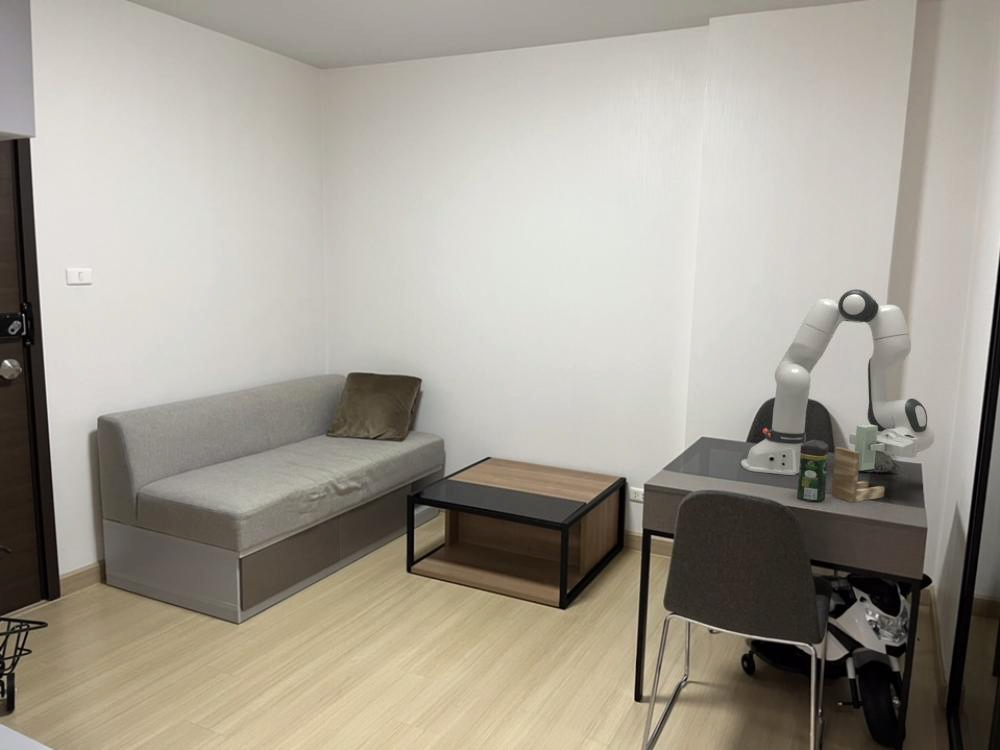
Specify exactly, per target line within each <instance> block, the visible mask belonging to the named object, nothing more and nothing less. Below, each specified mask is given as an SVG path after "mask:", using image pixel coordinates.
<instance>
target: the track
mask: <svg viewBox="0 0 1000 750" xmlns="http://www.w3.org/2000/svg"><path fill="white" fill-rule="evenodd" d="M834 452H835V453H834V461H833V463H834V464H833V473H832V488H831V496H832V497H834V498H837V499H840V500H843V501H845V502H849V503H857V502H862V501H868V500H869V501H870V500H874V499H881V498H884V497H885V488H886V487H885V486H884V485H878V486H876V485H875V486H870V487H869V483H870V482H869V481H867V480H862V481H858V477H859V471H858V468H859V457H860V452H856V451H855V450H854V449H853V450H852V449H848V448H845V447H842V446H836V447H835V450H834Z"/></svg>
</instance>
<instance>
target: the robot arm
mask: <svg viewBox="0 0 1000 750" xmlns="http://www.w3.org/2000/svg"><path fill="white" fill-rule="evenodd" d="M843 322H849V323H851V322H852V323H861V324H862V323H865V324H867V325H868V327H869V328H870V331H871V336H872V342H873V351H872V356H871V357H870V358H869V359H868V364H867V382H868V383H867V384H868V388H867V389H868V408H867V420H868V423H869V424H871V425H875V426H878V431H877V432H880V434H877V443H876V444H869V445H868V450H872V451H874V450H877V451H881V452H883V453H885V454H886V455H889V456H890V457H899V458H912V459H914V458H916V457H917V453H919V452H923V451H926V450H928V449H929V448H931V446H932V445H933V444H934V441H935V435H934V434H935V433H934V431H933V430H932V428H930V426H929V425H928V414H927V411H926V408H925V406H924V405H923V404H922V403H921V402H920V401H919V400H917V399H916V398H906V399H898V400H889V401H888V397H887V394H888V393H887V376H888V374H889V372H890V371H891V370H892V369H893V368H895V367H896V366H898V365H899V364H901V363H902V362H904V361H905V360H906V359H907V357H908V356H909V355H910V353H911V352H912V351H911V350H912V342H911V337H910V332H909V328H908V324H907V323H908V322H906V318H905V315H904V313H903V311H902V309H901V308H900V306H897V305H895V304H878V303H877V301H876V299H875V297H874V296H873V295H872V294H871V293H870V292H868V291H866V290H862V289H856V288H855V289H851V290H847V291H846V292H844V293H843V294H842V295H841V297H840V298H839V300H834V299H831V298H820V299H818V300H817V301H816V302H815V303H814V305H813V306H812V307H811V308H810V310H809V311H808V313H807V315H805V318H804V320H803V321H802V323H801V326H800V327H799V329H798V331H797V333H796V335H795V337H794V338H793V340H792V342H791V344H790V346H789V347H788V348H787V350H786V352H785V354H783V357H782V358H781V360H780V362H779V363H778V365H777V367H776V369H775V371H774V379H775V383H776V388H775V390H776V391H775V399H774V403H773V411H772V423H771V424H772V425H771V428H770V429H768V428H767V427H765V428H763V430H762V433H763V434H764V435H765V438H764V439H762V440H761V441H760V442H758V443H756V444H754V445H753V446H752V447H750V449H749V450H748V451H749V452H748V455H747V458H745V459H742V460H741V462H740V466H741V467H742V468H743V469H745V470H747V471H750V472H755V473H767V474H777V475H786V476H795V475H797V474H799V467H800V450H801V445H802V444H803V443H805V442H806V437H807V435H806V432H805V429H806V428H805V427H806V417H807V407H808V402H809V398H810V397H809V395H810V391H811V390H810V389H811V380H812V379H811V373H812V371H813V369H814V368H815V366H816V365H817V363H818V362H819V360H820V359H821V358H822V357H823V355H824V353H825V352H826V349H827V348H828V346H829V344H830V342H831V340H832V338H833V336H834V335H835V332H836V331H837V329H838V327H839V326H840V325H841V324H842V323H843ZM855 441H856V431H854V432H850V434H849V442H848V443H849V444H851V445H854V446H855Z"/></svg>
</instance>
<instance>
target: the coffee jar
mask: <svg viewBox="0 0 1000 750" xmlns="http://www.w3.org/2000/svg"><path fill="white" fill-rule="evenodd" d="M828 460H829V444H828V443H826V442H825V441H823V440H818V439H810V440H808V441H805V443H803V444H802V445H801V450H800V467H799V473H798V482H797V491H796V492H797V493H796V496H797V498H799V499H801V500H804V501H807V502H820V501H822V500H823V499H824V498H825V497H826V489H827V487H826V486H827V485H826V484H827V471H828V470H827V469H828Z"/></svg>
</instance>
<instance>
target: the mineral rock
mask: <svg viewBox="0 0 1000 750" xmlns="http://www.w3.org/2000/svg"><path fill="white" fill-rule="evenodd" d="M899 469H900V466H899V462H898V461H897V460H896V459H893V458H892V456H889V455H886V454H885V453H883V452H881V451H877V450H876V454H875V465H874V469H868V470H858V473H859V472H860V473H861V471H863V472H862V473H873V472H874V473H879V472H880V473H887V472H891V471H894V470H895V471H896V470H899Z"/></svg>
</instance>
